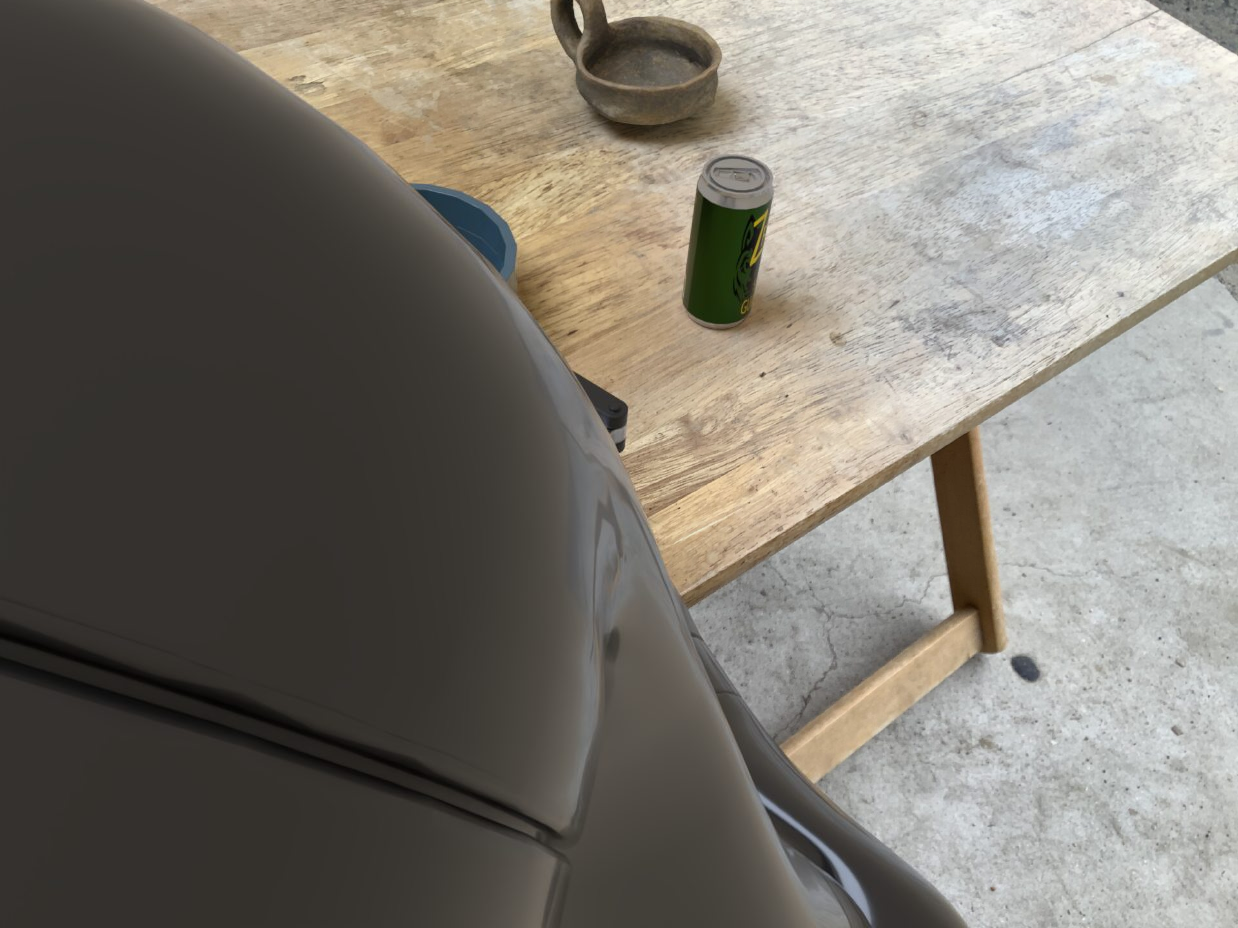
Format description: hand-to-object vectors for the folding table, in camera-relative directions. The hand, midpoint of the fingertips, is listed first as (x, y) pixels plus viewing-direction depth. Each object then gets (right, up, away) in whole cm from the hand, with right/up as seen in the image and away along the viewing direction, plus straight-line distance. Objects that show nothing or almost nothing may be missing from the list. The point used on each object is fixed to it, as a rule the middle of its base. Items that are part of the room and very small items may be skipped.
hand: (413, 338), depth 53 cm
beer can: (+17, +6, +31) cm, 36 cm away
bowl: (+11, +28, +51) cm, 59 cm away
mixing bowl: (-6, +5, +29) cm, 30 cm away
